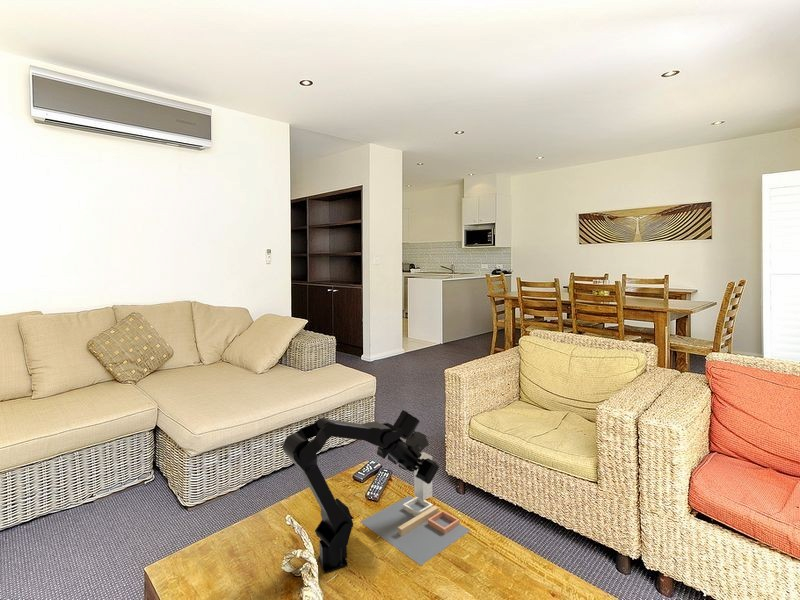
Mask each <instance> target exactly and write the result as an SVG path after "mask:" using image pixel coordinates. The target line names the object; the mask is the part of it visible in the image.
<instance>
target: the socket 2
mask: <svg viewBox="0 0 800 600" xmlns="http://www.w3.org/2000/svg"><path fill="white" fill-rule="evenodd" d="M441 517H445V518H447V519H448V520H450V521H452V522H453V523H451V524H449V525H448V526H446V527H445V528H444V527H442V526H441V525H439V524H437V523H436V522H435V521H436V520H438V519H439V518H441ZM460 521H461V520H460V519H459V518H457V517H455V516H454V515H452V514H451V513H449V512H447V511H446V510H443V509H442V510H441V511H439V513H437V514H436V515H434V516H432V517H431V518H429V519H428V524H429V525H430V526H432V527H433V528H435V529H437V530H438V531H440V532H442V533H443V534H446V533H448V532H449V531H451V530H452V529H454V528H455V527H457V526H458V525H461V523H460Z"/></svg>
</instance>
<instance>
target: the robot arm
mask: <svg viewBox="0 0 800 600" xmlns="http://www.w3.org/2000/svg"><path fill="white" fill-rule="evenodd" d="M420 423H421V421H420V420H419V419H418V418H417V417H416V416H414V415H412V414H410V413H409V412H408V411H406V410H404V409H402V410H401V412H400V414H399V415H398V416H397V419H396V420H395V422H394V423H393V424H391V423H390V422H383V423H381V422H378V421H369V422H368V421H367V422H366V423H357V422H356V423H355V422H350V421H344V420H342V421H341V420H336V419H329V418H327V417H321V418H318V419H317V420H316V421H315V422H313V423H311V424H308V425H306V426H303V427H301V428H299V429H298V430H297V431H295V432H294V433H291V434H290V435H288V436H287V437H286V438H285V440H284V442H283V444H282V451H283V452H284V454H285V455H286V456H287V457H288V458H289V459H290V460H291V462H292V463H293V464H294V465H295V466H296V467H297V468H298V469H299V470H300V472H301V474H302V476H303V477H304V479H305V481H306V483H307V485H308V487H309V489H310V490H311V492H312V494H313V496H314V498H315V500H316V502H317V504H318V505H319V507H320V517H321V520H320V522H319V524H318V525H317V527H316V528H315V530H314V533H315V535H316V537H317V538H319V545H318V546H319V556H318V557H317V560H318V562H319V564H320V567H321V569H322V571H323V573H325V574H326V572H327V573H329V572H332V571H334V570H335V571H336V570H338V569H341V568H344V567H347V566H348V561H347V559H348V543H349V540H350V536H351V532H352V530H353V527H354V522H353V521H354V519H355V517H354V516H353V515H351V512H350V509H349V507H348V506H347V505H346V504H345V503H343V501H341V500H340V499H339V498H338V497H336V498H335V496H334V494H333V493H332V490H331V488H330V486H329V484H328V483H327V481H326V479H325V477H324V475H323V473H322V471H321V469H320V467H319V466H318V453H319V452H320V451H322V450H323V448H324V446H325V445H326V442H327V441H328V440H329V439H330V438H331V437H333V438H341V439H349V440H350V439H351V440H357V441H364V442H367V443H369V444H372V445H374V446H376V447H377V451H376V454H377V456H379V457H380V458H382V459H383V460H385V459H386V458H387V461H389V462H390V463H392V464H393V465H395V466H396V465H397V464H398V467H399V468H400V469H402V470H405V471H408V472H413V473H414V470H415V471H417V469H418V472H417V474H416V476H415V477H417V478H419V479H420V480H422V481H424V482H425V483H427V484H429V483H431V481H432V482H433V479H434V478H435V476H436V473H438V471H439V469H440V464H438V462H437V461H434V460H433V459H432V460H431V459H429V458H427V459H421V460H420V459H419V458H420V457H421V455H422V454H421V453H422V452H423V450H425V448H426V447H428V446H429V445H430V443H429V439H428V438H427V435H426V434H424V433H423V432H420V431H416V429H418V427H419V425H420ZM312 438H313V439H312ZM401 438H402V439H404V440H405V441H404V440H402V439H401ZM310 439H312V440H310ZM418 462H419V463H420V464H419V463H418ZM415 466H417V467H415Z"/></svg>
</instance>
